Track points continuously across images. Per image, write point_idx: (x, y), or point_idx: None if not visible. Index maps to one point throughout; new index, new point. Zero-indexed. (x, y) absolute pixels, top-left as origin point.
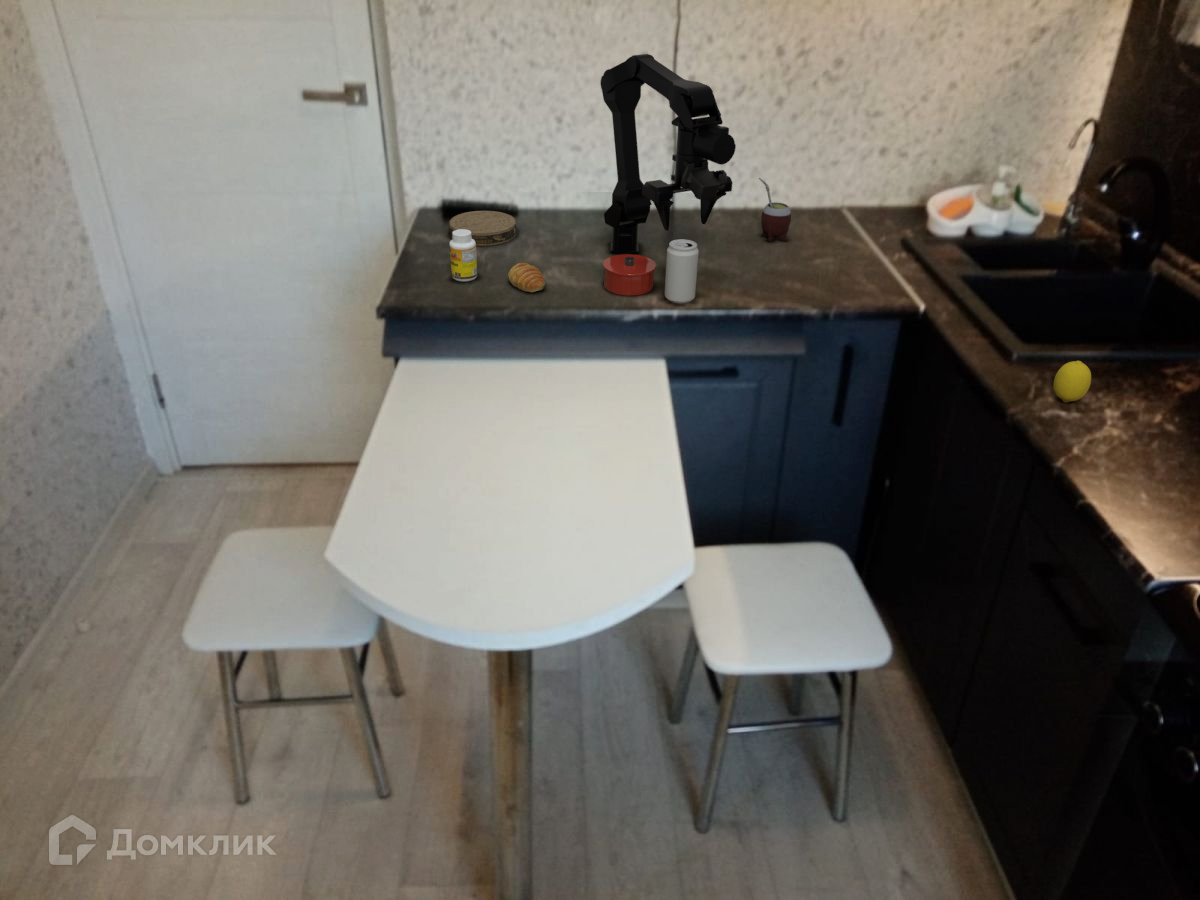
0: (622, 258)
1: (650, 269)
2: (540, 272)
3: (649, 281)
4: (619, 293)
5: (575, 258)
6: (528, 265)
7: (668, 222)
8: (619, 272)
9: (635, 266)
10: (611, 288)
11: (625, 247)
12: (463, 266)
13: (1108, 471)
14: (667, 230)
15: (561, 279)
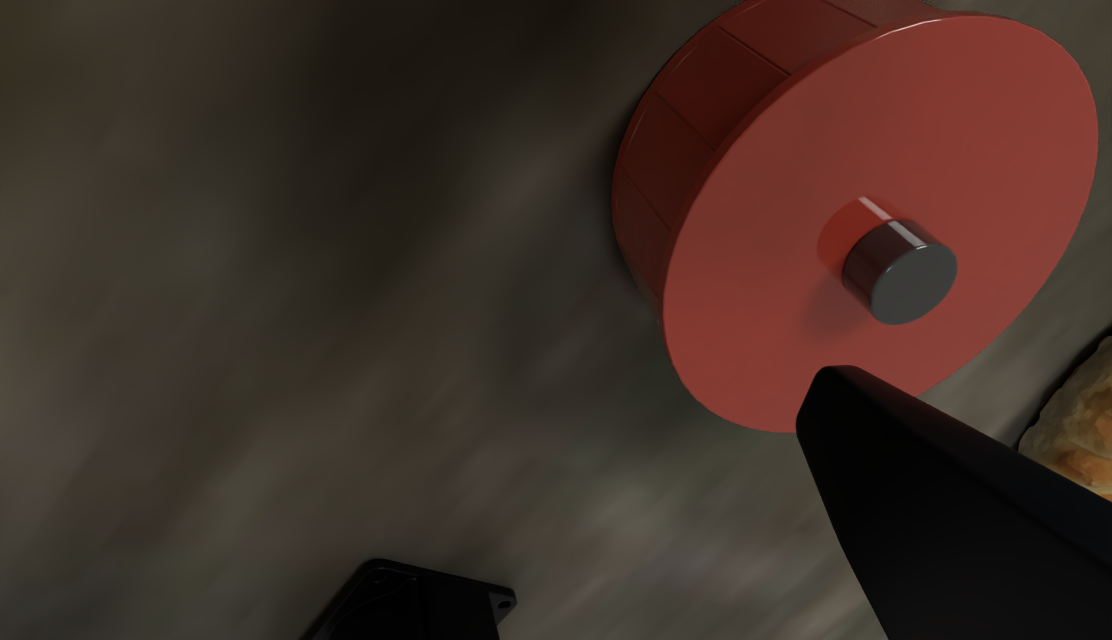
0: None
1: (869, 62)
2: (1107, 427)
3: (813, 16)
4: None
5: (708, 573)
6: (1102, 493)
7: (972, 452)
8: (1081, 146)
9: (897, 193)
10: None
11: (463, 602)
12: None
13: None
14: (839, 366)
15: (956, 395)
